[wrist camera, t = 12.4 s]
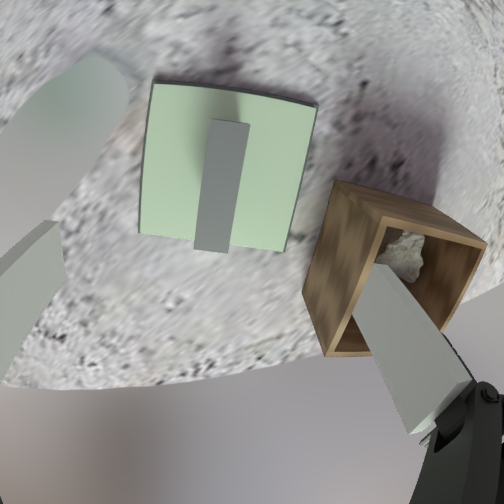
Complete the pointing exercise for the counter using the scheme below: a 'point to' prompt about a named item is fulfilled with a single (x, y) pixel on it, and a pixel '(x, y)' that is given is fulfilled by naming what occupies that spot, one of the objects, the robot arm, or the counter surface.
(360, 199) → the crate
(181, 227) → the lid
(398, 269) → the stone
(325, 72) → the counter surface
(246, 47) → the counter surface
